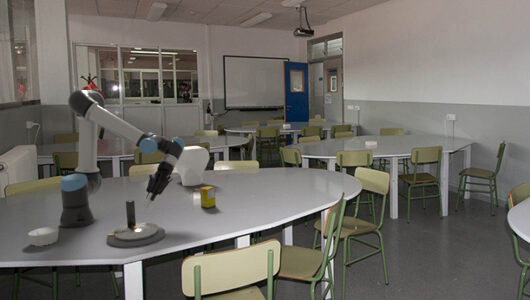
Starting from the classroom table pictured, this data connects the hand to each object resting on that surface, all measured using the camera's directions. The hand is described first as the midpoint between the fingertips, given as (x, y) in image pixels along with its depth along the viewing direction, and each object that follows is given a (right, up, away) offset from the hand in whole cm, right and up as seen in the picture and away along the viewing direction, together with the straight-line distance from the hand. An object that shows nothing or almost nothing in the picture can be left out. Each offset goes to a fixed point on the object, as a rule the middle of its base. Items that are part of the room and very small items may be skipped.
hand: (146, 206), depth 182 cm
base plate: (0, -12, -13) cm, 18 cm away
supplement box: (+24, -5, +32) cm, 41 cm away
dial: (0, -10, -13) cm, 17 cm away
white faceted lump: (+4, +3, +97) cm, 97 cm away
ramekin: (-38, -13, -17) cm, 44 cm away
